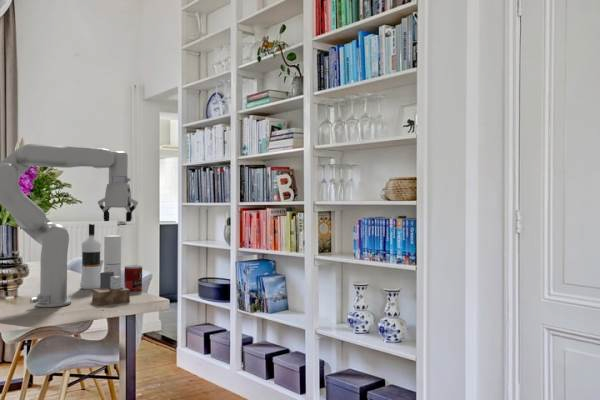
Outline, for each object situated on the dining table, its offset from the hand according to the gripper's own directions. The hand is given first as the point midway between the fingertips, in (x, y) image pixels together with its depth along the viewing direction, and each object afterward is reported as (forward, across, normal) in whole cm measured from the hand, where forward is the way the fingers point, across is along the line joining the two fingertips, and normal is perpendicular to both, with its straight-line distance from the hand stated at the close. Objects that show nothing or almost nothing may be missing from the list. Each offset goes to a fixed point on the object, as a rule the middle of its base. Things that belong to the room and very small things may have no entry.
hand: (117, 221), depth 224 cm
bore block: (+32, -2, +9) cm, 34 cm away
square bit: (+32, +6, -4) cm, 33 cm away
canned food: (+32, +1, -19) cm, 38 cm away
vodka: (+32, +22, -20) cm, 45 cm away
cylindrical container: (+32, +9, -14) cm, 36 cm away
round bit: (+32, -3, +7) cm, 33 cm away
